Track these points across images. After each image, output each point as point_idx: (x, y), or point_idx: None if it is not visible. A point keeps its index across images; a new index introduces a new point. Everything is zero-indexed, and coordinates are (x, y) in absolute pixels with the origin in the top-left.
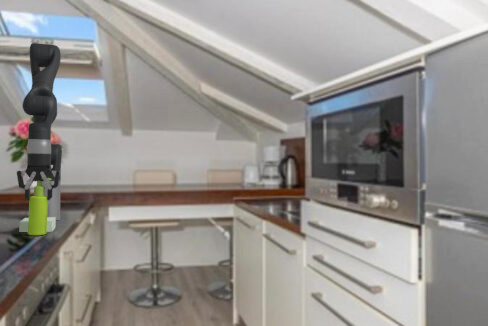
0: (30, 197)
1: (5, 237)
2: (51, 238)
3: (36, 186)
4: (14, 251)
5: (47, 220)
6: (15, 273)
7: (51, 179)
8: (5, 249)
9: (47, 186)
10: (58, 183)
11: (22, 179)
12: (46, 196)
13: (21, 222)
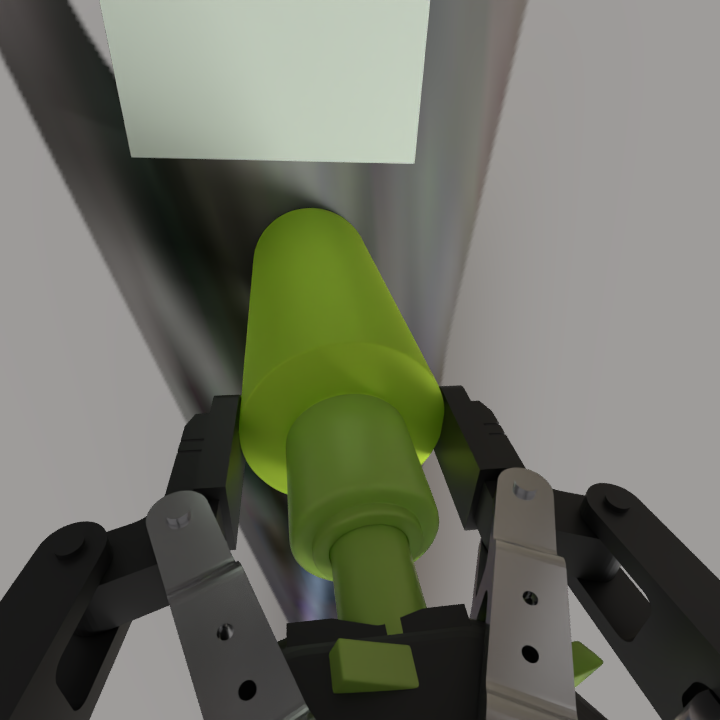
0: (263, 479)
1: (134, 309)
2: None
3: (330, 576)
4: (292, 564)
5: (373, 122)
6: None
7: (588, 669)
8: (250, 541)
9: (480, 573)
10: (668, 531)
11: (54, 715)
12: (428, 423)
13: (152, 157)
